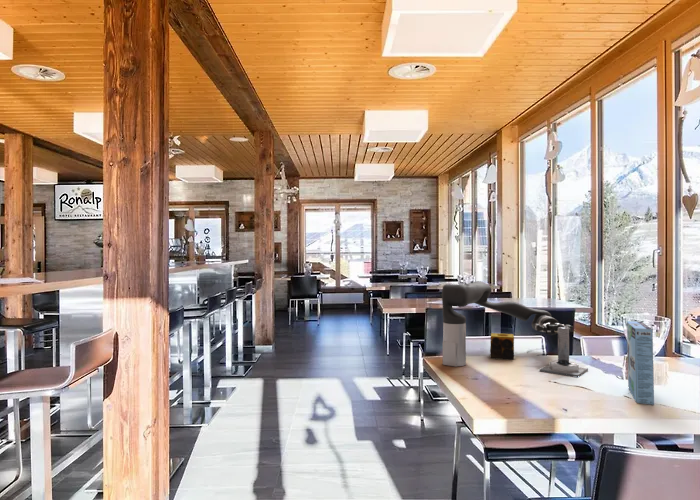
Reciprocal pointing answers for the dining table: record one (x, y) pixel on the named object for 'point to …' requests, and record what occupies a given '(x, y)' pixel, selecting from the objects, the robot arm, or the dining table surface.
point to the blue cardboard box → (640, 362)
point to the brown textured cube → (502, 346)
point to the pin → (563, 345)
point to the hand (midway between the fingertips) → (557, 330)
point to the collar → (564, 369)
